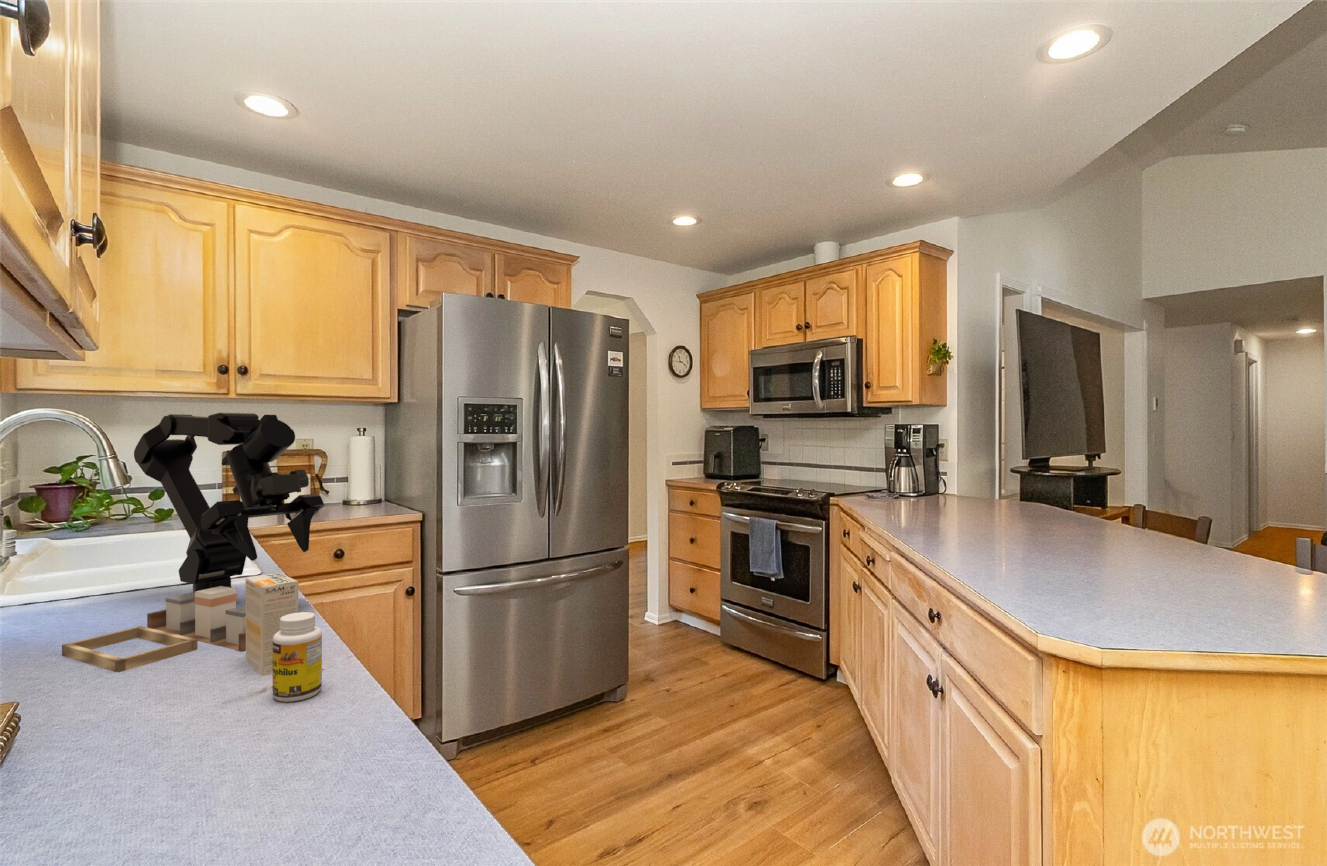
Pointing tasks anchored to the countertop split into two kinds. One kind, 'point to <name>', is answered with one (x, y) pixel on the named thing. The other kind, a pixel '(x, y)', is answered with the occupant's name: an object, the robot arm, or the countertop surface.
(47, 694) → the countertop surface
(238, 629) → the block
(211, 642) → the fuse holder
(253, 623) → the supplement box
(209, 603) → the beige striped box
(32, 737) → the countertop surface
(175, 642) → the tray
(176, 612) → the grey beige rectangular block
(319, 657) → the supplement bottle
